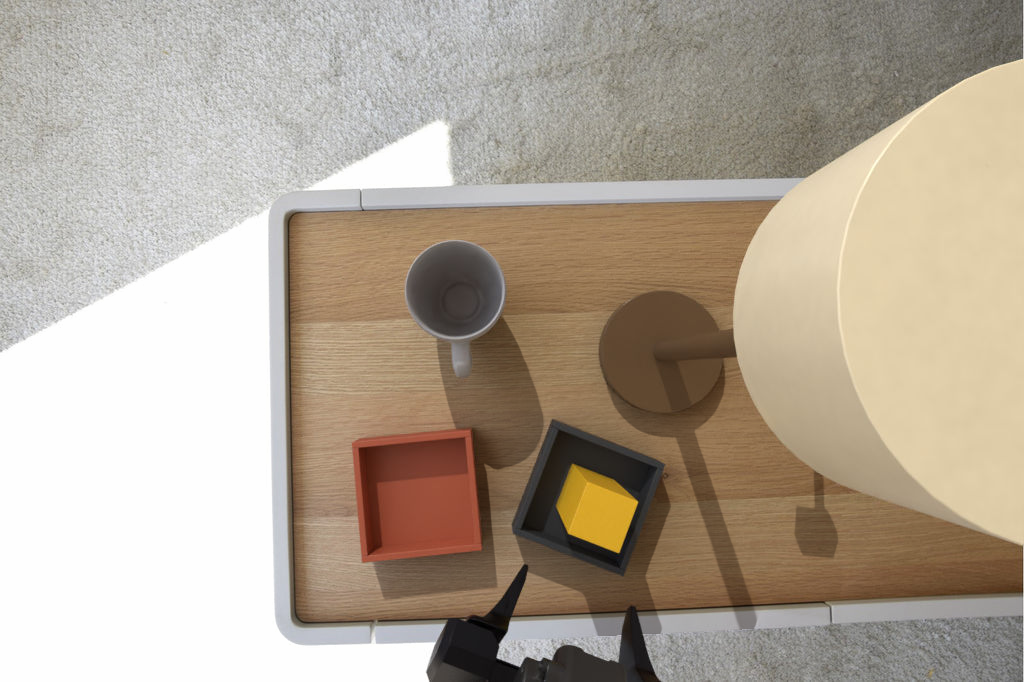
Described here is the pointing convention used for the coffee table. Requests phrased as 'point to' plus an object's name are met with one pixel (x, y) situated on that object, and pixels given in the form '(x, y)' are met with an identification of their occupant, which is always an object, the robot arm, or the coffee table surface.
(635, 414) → the coffee table surface
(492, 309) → the mug
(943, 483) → the tall lamp
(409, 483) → the bin left
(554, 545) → the bin right
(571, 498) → the yellow box
